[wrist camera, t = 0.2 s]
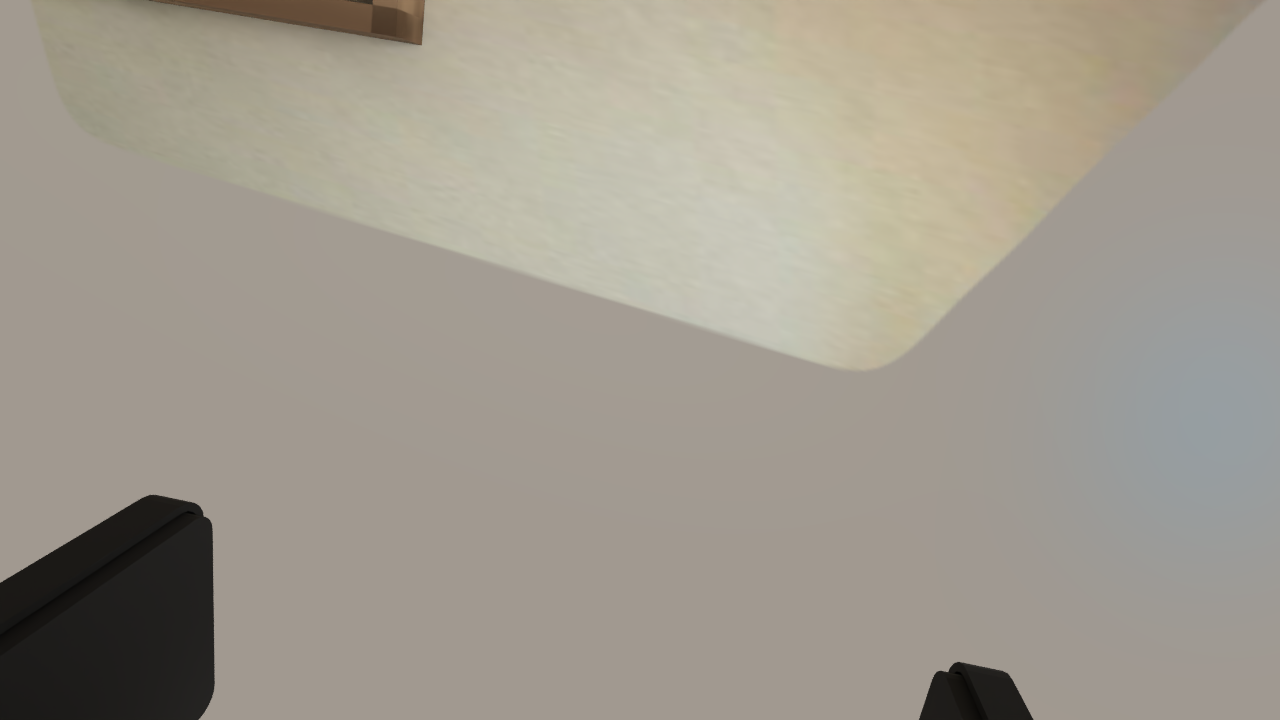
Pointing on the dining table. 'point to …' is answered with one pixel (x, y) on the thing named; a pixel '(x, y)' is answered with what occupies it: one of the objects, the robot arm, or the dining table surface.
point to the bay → (330, 15)
